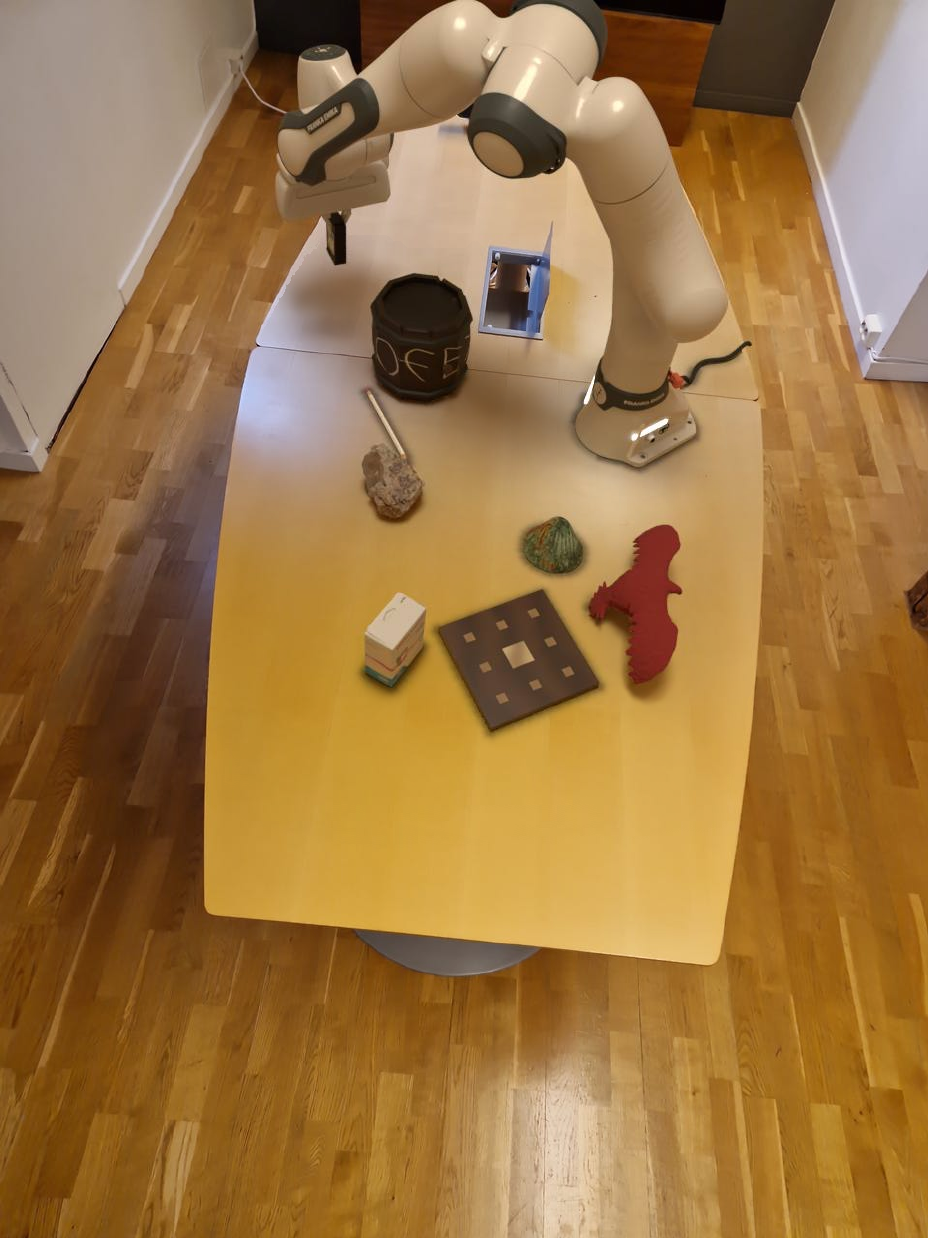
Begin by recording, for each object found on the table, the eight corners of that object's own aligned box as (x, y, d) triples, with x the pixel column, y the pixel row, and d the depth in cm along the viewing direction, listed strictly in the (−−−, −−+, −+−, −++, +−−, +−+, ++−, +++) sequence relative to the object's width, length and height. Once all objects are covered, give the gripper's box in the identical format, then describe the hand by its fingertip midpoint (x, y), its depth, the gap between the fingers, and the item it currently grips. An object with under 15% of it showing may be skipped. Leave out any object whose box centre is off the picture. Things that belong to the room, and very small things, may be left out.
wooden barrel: (401, 421, 146) (401, 351, 133) (355, 358, 153) (352, 286, 140) (486, 389, 152) (495, 319, 138) (438, 330, 159) (442, 258, 146)
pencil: (369, 390, 149) (369, 388, 149) (409, 462, 141) (409, 460, 141) (365, 392, 149) (365, 389, 149) (405, 464, 141) (405, 461, 140)
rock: (388, 536, 136) (428, 510, 130) (334, 494, 130) (374, 465, 124) (399, 500, 142) (439, 473, 135) (348, 457, 136) (387, 428, 130)
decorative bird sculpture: (605, 704, 125) (694, 684, 115) (569, 678, 119) (658, 654, 110) (616, 556, 139) (696, 527, 130) (584, 527, 134) (665, 494, 124)
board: (541, 592, 129) (542, 588, 128) (598, 686, 121) (600, 682, 120) (438, 631, 124) (438, 626, 123) (490, 731, 116) (491, 727, 115)
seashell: (521, 546, 128) (538, 500, 133) (515, 561, 132) (533, 516, 137) (580, 569, 128) (596, 522, 133) (573, 583, 131) (588, 537, 136)
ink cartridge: (326, 251, 153) (325, 210, 147) (337, 249, 154) (337, 209, 147) (334, 267, 151) (333, 226, 144) (346, 265, 152) (346, 224, 145)
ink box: (392, 689, 118) (392, 650, 108) (364, 672, 120) (361, 632, 109) (424, 647, 122) (427, 605, 112) (397, 631, 124) (397, 588, 113)
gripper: (381, 134, 141) (383, 209, 152) (266, 155, 135) (278, 232, 147) (395, 153, 138) (396, 229, 150) (279, 176, 132) (289, 253, 144)
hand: (336, 231), depth 148 cm, fingers closed, pressing on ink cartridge
